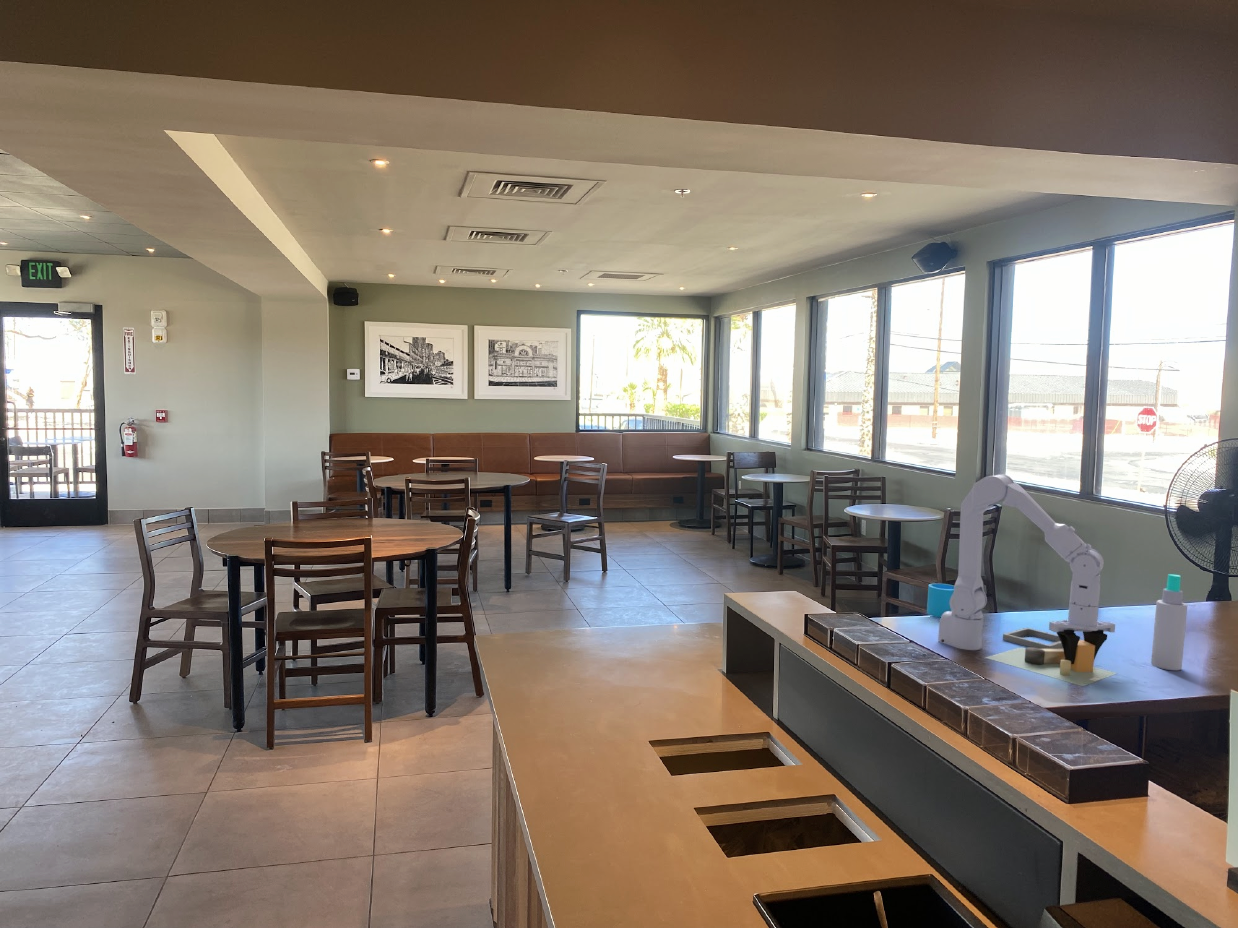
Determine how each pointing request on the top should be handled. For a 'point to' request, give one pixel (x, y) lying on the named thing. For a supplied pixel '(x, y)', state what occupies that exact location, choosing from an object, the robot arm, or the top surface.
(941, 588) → the mug
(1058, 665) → the base plate
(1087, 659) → the orange block
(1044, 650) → the lever
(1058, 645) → the tray
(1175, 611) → the spray bottle
